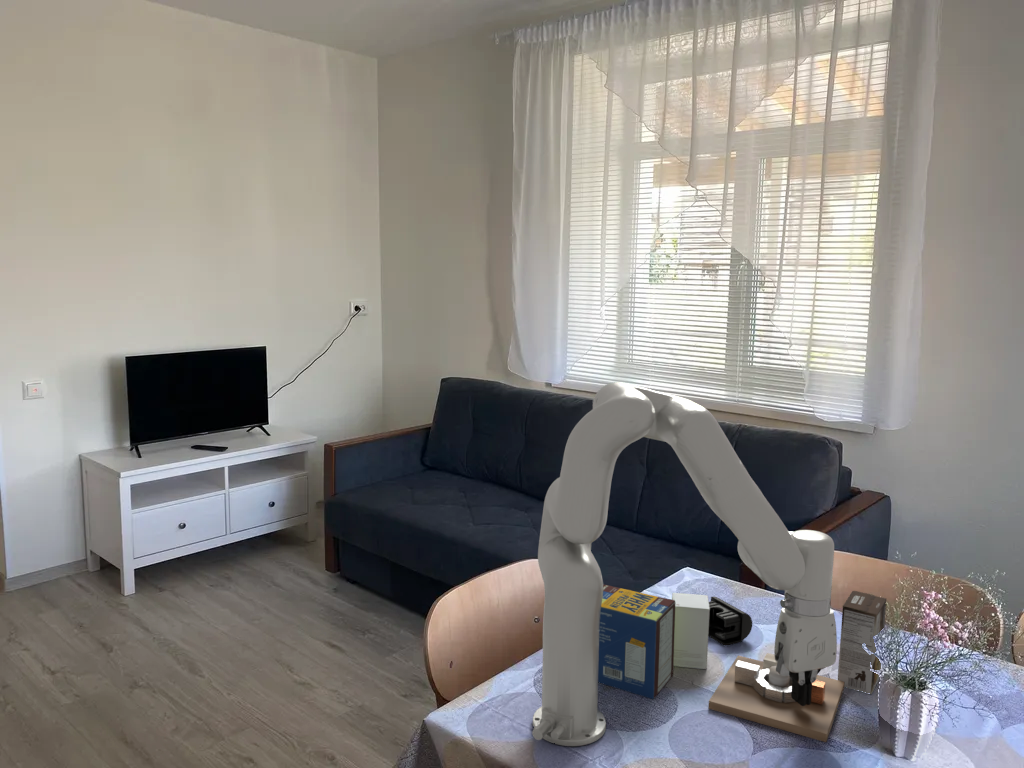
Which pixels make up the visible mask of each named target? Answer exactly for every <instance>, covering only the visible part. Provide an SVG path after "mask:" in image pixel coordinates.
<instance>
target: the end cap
mask: <svg viewBox="0 0 1024 768" xmlns="http://www.w3.org/2000/svg"><path fill="white" fill-rule="evenodd" d="M709 607H710V612H709V631H708V638H710V639H712V640H714V641H715V642H717V643H719V644H720V645H722V646H723V647H728V646H733V645H736V644H740V643H742V642H743V641H744V640H745V639H747V637H749V635H750V634H751V631H752V629H753V620H752V617H751V616H750V615H749V614H748V613H747V612H744V611H743V610H741V609H739V608H737V607H735V606H734V605H732V604H730V603H728V602H727V601H726V600H723V599H721V598H719V597H717V596H710V601H709Z"/></svg>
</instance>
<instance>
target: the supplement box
mask: <svg viewBox="0 0 1024 768" xmlns="http://www.w3.org/2000/svg"><path fill="white" fill-rule="evenodd" d="M671 600H675V630H674V663H673V667H679V668H690V669H698V670H699V669H700V670H707V667H708V652H709V649H708V648H709V636H708V631H709V612H710V607H709V602H710V601H709V595H706V594H695V593H694V594H693V593H682V592H681V593H680V592H679V593H678V592H672V594H671Z"/></svg>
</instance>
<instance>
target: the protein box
mask: <svg viewBox="0 0 1024 768" xmlns="http://www.w3.org/2000/svg"><path fill="white" fill-rule="evenodd" d="M674 630H675V600H672V598H671V599H670V598H666V597H662V596H661V597H660V596H657V595H652V594H648V593H643V592H640V591H639V592H638V591H634V590H631V589H626V588H621V587H617V586H614V585H613V586H612V585H608V584H603V597H602V604H601V611H600V623H599V662H598V682H599V683H598V684H601V683H602V685H605V686H608V687H611V688H615V689H619V690H621V691H624V692H629V693H632V694H635V695H638V696H641V697H645V698H649V699H652V700H654V699H655V698H656V697H657V696H658V695H659V693H660V692H661V691H662V690H663V688H665V686H666V685H667V683H669V681H670V680H671V678H672V677H673V676H674V666H673V663H674Z"/></svg>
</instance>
